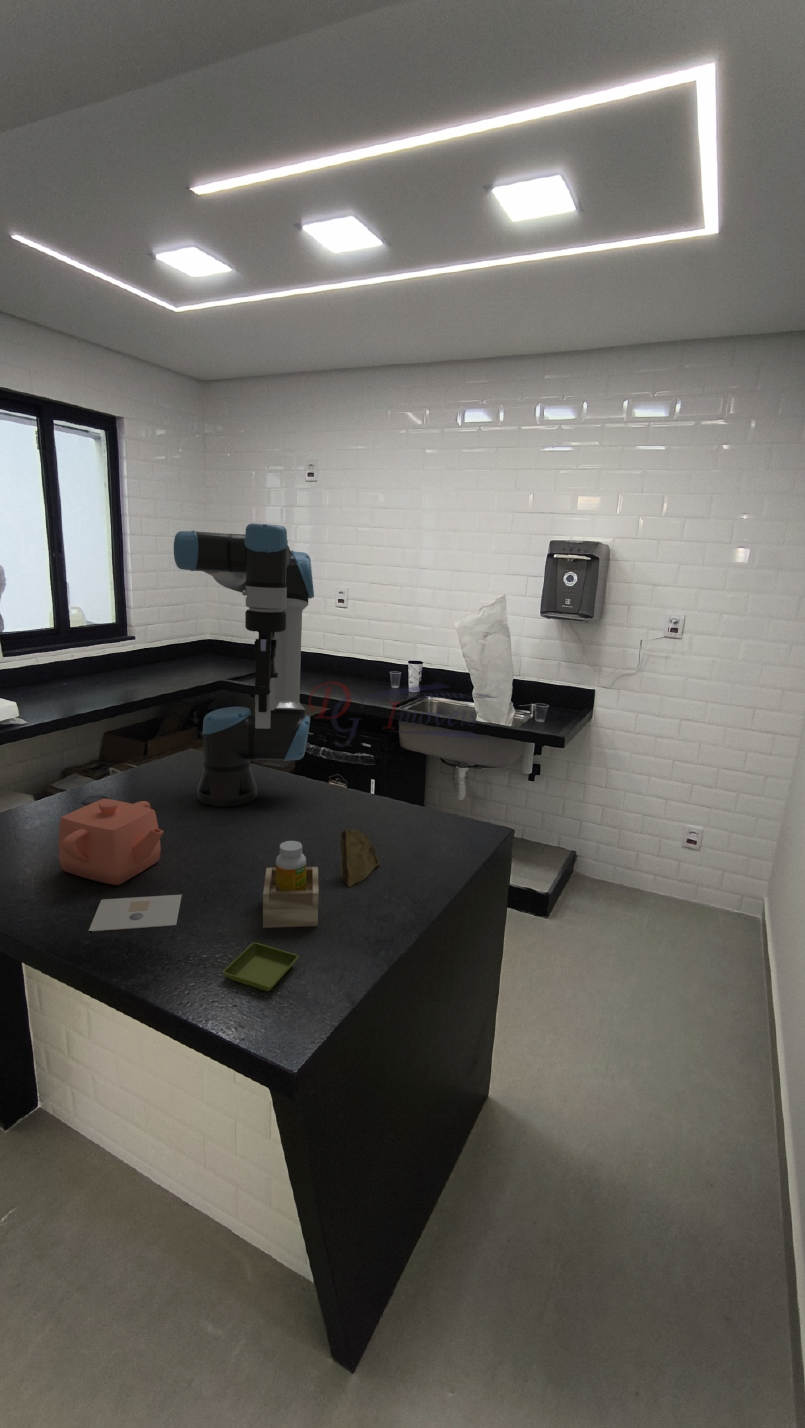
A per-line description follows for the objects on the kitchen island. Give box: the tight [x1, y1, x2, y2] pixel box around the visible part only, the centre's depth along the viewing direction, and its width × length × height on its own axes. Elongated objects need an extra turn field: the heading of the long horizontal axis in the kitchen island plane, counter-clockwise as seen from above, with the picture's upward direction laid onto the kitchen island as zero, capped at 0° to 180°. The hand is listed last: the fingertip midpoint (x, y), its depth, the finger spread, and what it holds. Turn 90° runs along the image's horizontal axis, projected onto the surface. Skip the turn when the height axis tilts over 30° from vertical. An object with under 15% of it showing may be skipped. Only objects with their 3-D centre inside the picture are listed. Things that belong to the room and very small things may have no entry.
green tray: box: [222, 942, 300, 992], centre depth 101 cm, size 9×9×2 cm
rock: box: [340, 829, 380, 888], centre depth 132 cm, size 11×9×10 cm
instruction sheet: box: [88, 894, 183, 932], centre depth 115 cm, size 10×14×1 cm
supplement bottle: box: [275, 840, 307, 891], centre depth 116 cm, size 5×5×10 cm
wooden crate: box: [262, 866, 320, 929], centre depth 117 cm, size 10×10×6 cm
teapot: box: [58, 798, 165, 886], centre depth 127 cm, size 20×22×14 cm
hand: (265, 718), depth 126 cm, fingers open, 13 cm apart
